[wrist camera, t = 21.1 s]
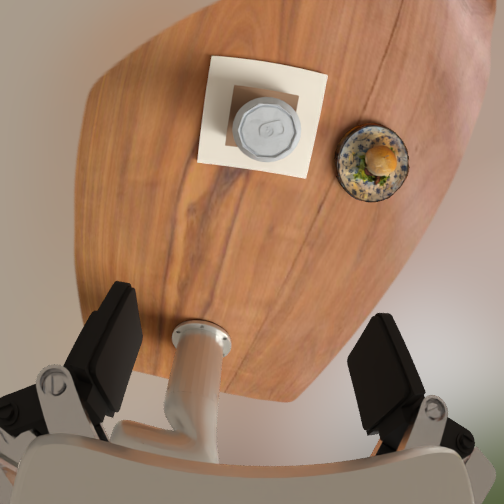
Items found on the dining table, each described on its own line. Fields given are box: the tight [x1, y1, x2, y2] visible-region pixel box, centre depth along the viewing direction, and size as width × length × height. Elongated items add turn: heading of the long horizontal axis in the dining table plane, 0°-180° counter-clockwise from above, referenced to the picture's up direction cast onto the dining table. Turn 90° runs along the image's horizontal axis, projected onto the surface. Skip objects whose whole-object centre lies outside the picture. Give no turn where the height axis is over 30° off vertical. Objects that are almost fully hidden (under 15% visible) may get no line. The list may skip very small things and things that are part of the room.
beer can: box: [232, 97, 301, 162], centre depth 22 cm, size 5×5×12 cm
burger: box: [334, 123, 410, 202], centre depth 33 cm, size 12×12×8 cm
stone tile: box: [197, 56, 328, 179], centre depth 32 cm, size 15×15×1 cm
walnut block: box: [225, 85, 299, 147], centre depth 30 cm, size 7×7×6 cm
